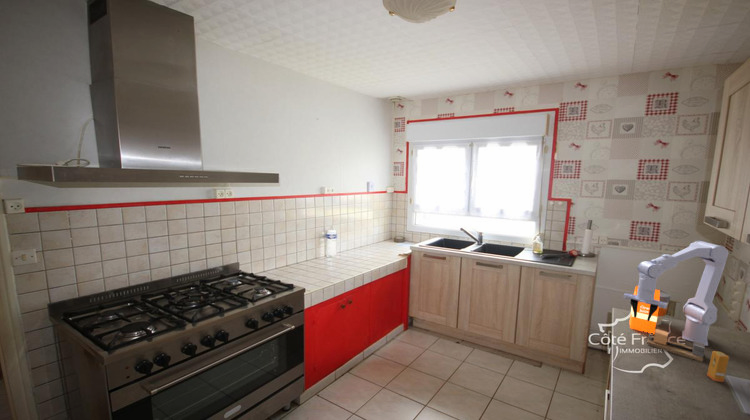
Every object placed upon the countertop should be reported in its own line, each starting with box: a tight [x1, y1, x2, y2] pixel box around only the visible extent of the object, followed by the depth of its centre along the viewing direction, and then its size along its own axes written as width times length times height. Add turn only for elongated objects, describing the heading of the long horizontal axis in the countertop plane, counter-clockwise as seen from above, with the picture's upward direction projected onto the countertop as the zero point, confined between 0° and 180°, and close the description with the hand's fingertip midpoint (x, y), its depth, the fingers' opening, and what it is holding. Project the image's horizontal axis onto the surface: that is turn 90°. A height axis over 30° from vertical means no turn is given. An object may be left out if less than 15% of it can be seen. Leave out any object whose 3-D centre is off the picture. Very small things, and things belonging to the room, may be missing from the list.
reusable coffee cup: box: [655, 288, 671, 326], centre depth 158 cm, size 13×13×15 cm
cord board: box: [646, 333, 706, 363], centre depth 135 cm, size 9×17×5 cm, turn 46°
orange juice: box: [628, 285, 661, 335], centre depth 150 cm, size 8×9×20 cm
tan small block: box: [653, 328, 669, 345], centre depth 137 cm, size 5×4×4 cm
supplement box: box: [706, 350, 730, 383], centre depth 116 cm, size 3×3×10 cm
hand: (641, 318), depth 141 cm, fingers open, 4 cm apart
